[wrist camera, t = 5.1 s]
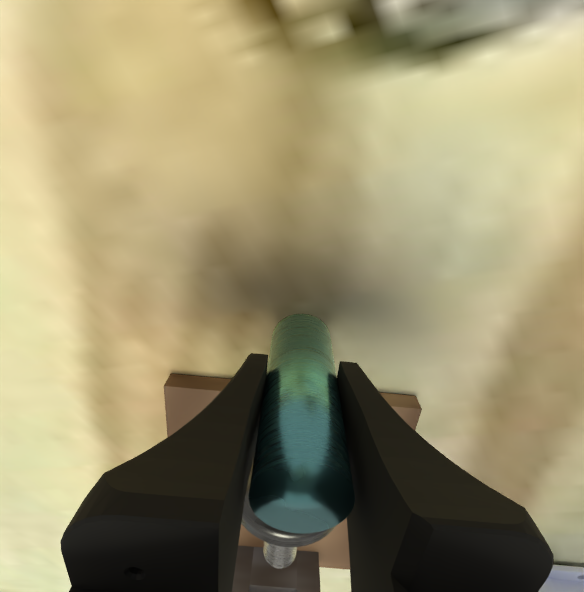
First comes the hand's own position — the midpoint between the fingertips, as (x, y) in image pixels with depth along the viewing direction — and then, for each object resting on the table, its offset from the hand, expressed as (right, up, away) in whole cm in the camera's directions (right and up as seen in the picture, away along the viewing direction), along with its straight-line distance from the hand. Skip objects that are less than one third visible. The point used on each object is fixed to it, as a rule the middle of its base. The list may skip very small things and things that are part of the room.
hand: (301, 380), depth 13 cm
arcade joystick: (0, -3, +4) cm, 5 cm away
